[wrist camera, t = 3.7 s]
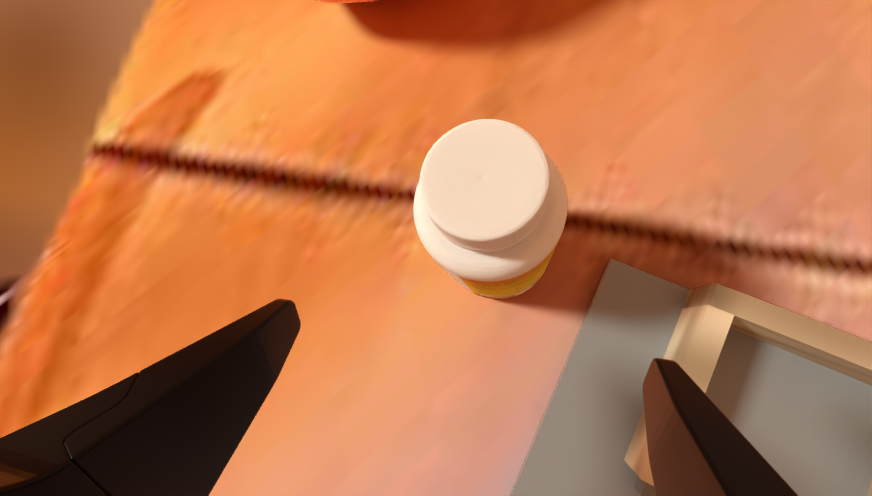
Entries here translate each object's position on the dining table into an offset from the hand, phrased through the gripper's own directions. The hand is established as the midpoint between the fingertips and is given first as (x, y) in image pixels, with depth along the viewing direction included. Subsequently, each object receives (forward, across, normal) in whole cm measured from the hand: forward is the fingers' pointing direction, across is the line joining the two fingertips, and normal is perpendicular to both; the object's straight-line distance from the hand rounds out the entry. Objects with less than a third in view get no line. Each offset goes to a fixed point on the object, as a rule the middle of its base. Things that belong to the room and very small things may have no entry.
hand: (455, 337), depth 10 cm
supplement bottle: (+11, 0, +5) cm, 12 cm away
